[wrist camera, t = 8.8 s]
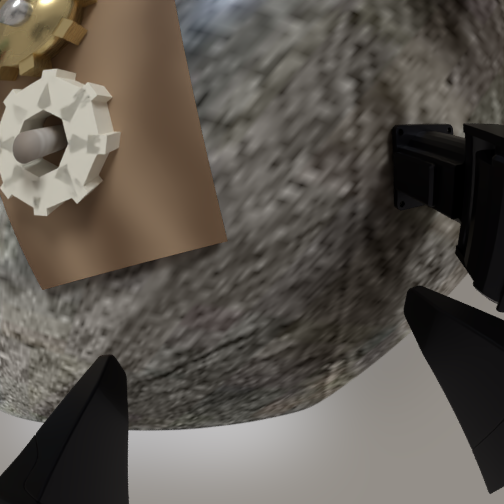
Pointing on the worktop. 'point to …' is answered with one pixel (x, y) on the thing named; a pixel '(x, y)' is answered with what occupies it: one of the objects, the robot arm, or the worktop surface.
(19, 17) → the gear
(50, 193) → the loose gear
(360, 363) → the worktop surface
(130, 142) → the gear board
